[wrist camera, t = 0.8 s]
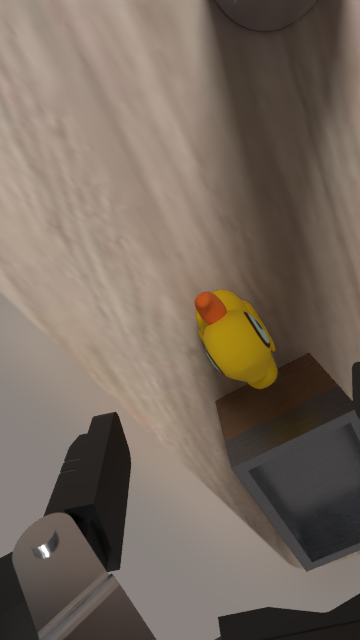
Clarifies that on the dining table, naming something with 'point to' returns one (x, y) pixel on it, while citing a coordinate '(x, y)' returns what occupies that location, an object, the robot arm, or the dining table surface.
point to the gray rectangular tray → (299, 458)
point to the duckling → (235, 338)
